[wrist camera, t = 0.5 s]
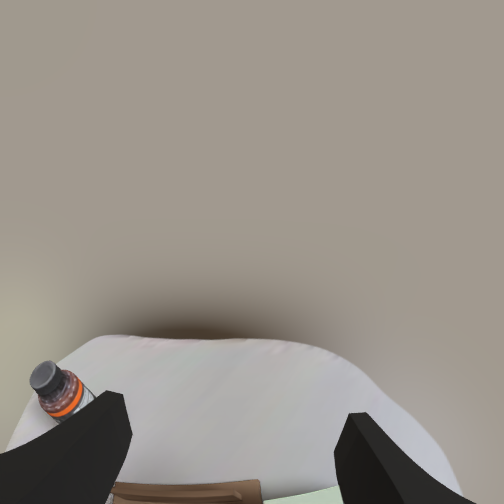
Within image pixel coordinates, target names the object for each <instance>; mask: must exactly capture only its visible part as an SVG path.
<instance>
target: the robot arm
mask: <svg viewBox="0 0 504 504" xmlns="http://www.w3.org/2000/svg"><path fill="white" fill-rule="evenodd" d="M132 435H133V434H132V430H131V426H130V422H129V418H128V414H127V410H126V406H125V402H124V397H123V394H120V393H116V392H112V391H108V390H106V391H105V392H103V393H102V394H101V395H99V396H98V397H97V398H95V399H94V400H92V401H91V402H90V403H88V404H87V405H86V406H84V407H83V408H82V409H80V410H79V411H77V412H76V413H75V414H73V415H72V416H70V417H69V418H68V419H66V420H65V421H63V422H62V423H60V424H59V425H57V426H56V427H54V428H52V429H51V430H49V431H47V432H46V433H44V434H43V435H41V436H39V437H38V438H36V439H34V440H32V441H30V442H28V443H26V444H24V445H22V446H19V447H17V448H15V449H13V450H10V451H8V452H5V453H2V454H0V504H105V503H106V500H107V498H108V496H109V494H110V492H111V489H112V487H113V485H114V483H115V481H116V479H117V476H118V474H119V472H120V470H121V467H122V465H123V463H124V461H125V458H126V455H127V452H128V449H129V445H130V442H131V438H132ZM334 459H335V468H336V476H337V481H338V485H339V489H340V493H341V497H342V500H343V504H476V503H474V502H472V501H470V500H468V499H466V498H464V497H462V496H460V495H458V494H457V493H455V492H453V491H452V490H450V489H449V488H447V487H446V486H444V485H443V484H441V483H440V482H438V481H437V480H436V479H434V478H433V477H432V476H430V475H429V474H428V473H427V472H425V471H424V470H423V469H422V468H421V467H420V466H418V465H417V464H416V463H415V462H414V461H413V460H412V459H411V458H410V457H408V456H407V455H406V454H405V453H404V452H403V451H402V450H401V449H400V448H399V447H398V446H397V445H396V444H395V443H394V442H393V441H392V440H391V438H390V437H389V436H388V435H387V434H386V433H385V432H384V431H383V430H382V429H381V428H380V427H379V426H378V424H377V423H376V422H375V421H374V420H373V419H372V418H371V417H370V416H369V415H368V414H367V413H366V412H364V413H349V415H348V417H347V420H346V423H345V425H344V428H343V430H342V433H341V435H340V438H339V440H338V443H337V445H336V448H335V450H334Z"/></svg>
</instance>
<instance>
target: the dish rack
mask: <svg viewBox="0 0 504 504" xmlns="http://www.w3.org/2000/svg"><path fill="white" fill-rule="evenodd" d="M110 493H112V494H114V501H113V504H262V497H261V488H260V481H259V480H258V479H255V480H248V481H239V482H229V483H217V484H200V485H150V484H133V483H121V482H116V484H115V487H112V489H111V492H110Z"/></svg>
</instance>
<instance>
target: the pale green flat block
mask: <svg viewBox="0 0 504 504" xmlns="http://www.w3.org/2000/svg"><path fill="white" fill-rule="evenodd" d="M264 504H343V500H342V497H341V493H340V489H339V485H338V486H334V487H331V488H327V489H323V490H319V491H314V492H310V493H305V494H300V495H295V496H290V497H284V498H278V499H272V500H265V501H264Z"/></svg>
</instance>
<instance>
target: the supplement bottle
mask: <svg viewBox="0 0 504 504" xmlns="http://www.w3.org/2000/svg"><path fill="white" fill-rule="evenodd" d="M30 385H31V387H32V388H33V389H34V390H35V391H36V393H37V394H38V399H39V403H40V405H41V407H42V408H43V409H44V410H45V411H46V412H47V413H48V414H49V415H50V416H51V417H52V418H53V419H55V420H56V421H57V422H58V423H59V424H60V423H62V422H63V421H65V420H66V419H68V418H69V417H70V416H72V415H73V414H75V413H76V412H77V411H79V410H80V409H82V408H83V407H84V406H86V405H87V404H88V403H90V402H91V401H92V400H94V399H95V398H96V397H95V396H94V395H93V393H92V392H91V391H90V390H89V389H88V388H87V387H86V386H85V385H84V384H83V383H82V382H81V381H80V380H79V379H78V377H77V376H76V375H75V374H74V373H72V372H71V371H68V370H61V369H60V368H59V367H57V365H56V364H55V363H53V362H52V361H45V362H43V363H41V364H39V365H38V366H37V367H36V368H35V369H34V371H33V372H32V374H31V377H30Z"/></svg>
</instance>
